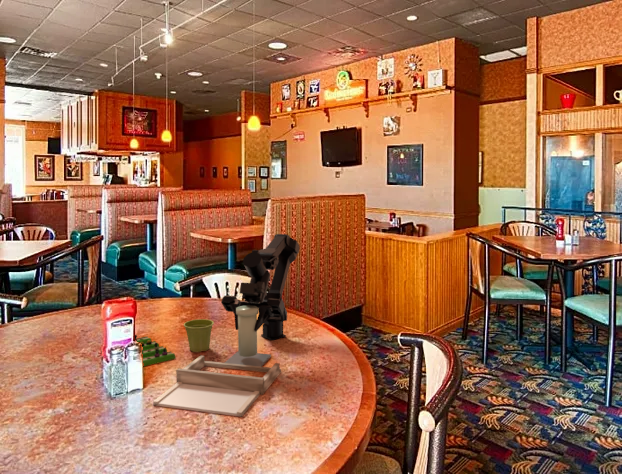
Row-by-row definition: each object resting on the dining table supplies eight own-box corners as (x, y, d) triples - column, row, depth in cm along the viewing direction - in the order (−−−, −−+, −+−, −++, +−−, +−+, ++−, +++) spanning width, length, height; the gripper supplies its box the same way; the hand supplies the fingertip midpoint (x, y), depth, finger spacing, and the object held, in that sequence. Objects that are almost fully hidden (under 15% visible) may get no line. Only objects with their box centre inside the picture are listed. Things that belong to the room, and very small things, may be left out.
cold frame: (202, 363, 148) (202, 350, 148) (280, 372, 142) (280, 358, 142) (176, 384, 134) (176, 370, 133) (262, 394, 128) (262, 379, 127)
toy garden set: (176, 360, 153) (175, 345, 152) (112, 375, 141) (111, 360, 140) (147, 341, 170) (146, 328, 170) (88, 353, 158) (87, 339, 158)
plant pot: (207, 355, 155) (206, 328, 154) (179, 353, 157) (178, 326, 156) (218, 345, 165) (218, 320, 164) (192, 343, 166) (191, 318, 165)
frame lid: (178, 385, 133) (178, 381, 133) (259, 395, 127) (259, 391, 127) (153, 405, 121) (153, 401, 121) (241, 416, 116) (241, 412, 116)
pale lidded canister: (250, 347, 155) (250, 304, 153) (263, 353, 150) (262, 308, 148) (232, 352, 151) (231, 307, 149) (244, 359, 146) (243, 312, 144)
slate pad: (237, 353, 157) (237, 351, 157) (270, 356, 154) (270, 354, 154) (223, 366, 146) (223, 363, 146) (258, 370, 144) (258, 367, 144)
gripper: (223, 269, 153) (207, 314, 144) (280, 272, 149) (269, 319, 140) (233, 289, 162) (219, 332, 153) (288, 292, 157) (278, 337, 148)
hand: (245, 330), depth 148 cm, fingers closed on pale lidded canister, 6 cm apart
